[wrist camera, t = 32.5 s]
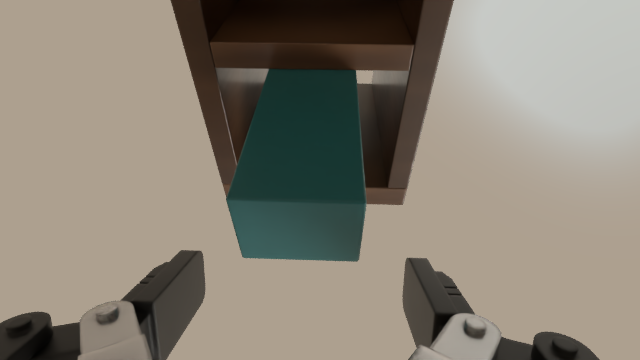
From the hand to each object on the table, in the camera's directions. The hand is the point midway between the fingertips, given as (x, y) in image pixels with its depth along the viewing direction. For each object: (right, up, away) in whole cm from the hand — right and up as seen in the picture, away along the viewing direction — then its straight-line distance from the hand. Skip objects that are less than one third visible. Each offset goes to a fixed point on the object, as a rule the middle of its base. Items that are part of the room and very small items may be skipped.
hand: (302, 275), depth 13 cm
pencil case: (0, +11, +4) cm, 12 cm away
